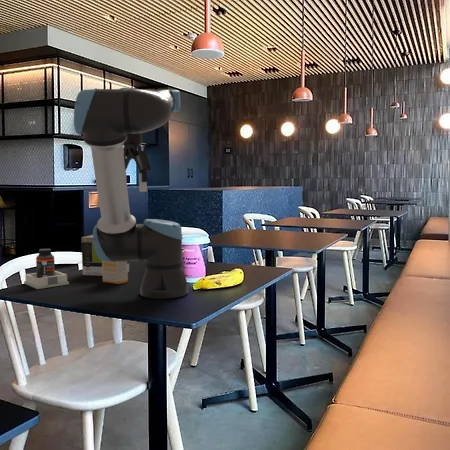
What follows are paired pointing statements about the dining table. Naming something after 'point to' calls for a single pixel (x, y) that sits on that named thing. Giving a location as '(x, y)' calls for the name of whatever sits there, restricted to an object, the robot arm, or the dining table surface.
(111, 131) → the robot arm
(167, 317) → the dining table surface
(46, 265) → the supplement bottle
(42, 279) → the shallow beige box
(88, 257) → the tea box
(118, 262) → the supplement box
